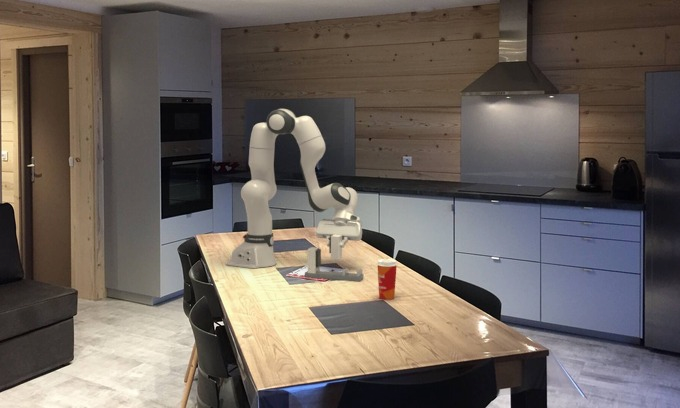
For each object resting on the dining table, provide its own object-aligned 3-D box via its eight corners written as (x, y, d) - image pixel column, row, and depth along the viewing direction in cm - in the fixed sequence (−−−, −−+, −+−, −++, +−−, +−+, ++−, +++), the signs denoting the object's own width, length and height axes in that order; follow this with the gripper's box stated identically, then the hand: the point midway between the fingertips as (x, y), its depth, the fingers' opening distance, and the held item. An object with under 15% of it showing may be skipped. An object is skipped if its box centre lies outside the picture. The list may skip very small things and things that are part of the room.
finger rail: (304, 277, 280) (304, 249, 278) (308, 274, 284) (308, 246, 283) (360, 281, 273) (360, 252, 271) (363, 278, 277) (363, 250, 276)
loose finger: (328, 259, 287) (329, 236, 286) (332, 256, 292) (332, 234, 291) (338, 259, 286) (338, 236, 285) (341, 257, 291) (342, 234, 289)
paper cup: (375, 295, 252) (375, 258, 250) (395, 294, 253) (395, 258, 251) (377, 300, 244) (378, 263, 242) (398, 300, 245) (399, 262, 243)
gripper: (318, 214, 296) (310, 240, 288) (363, 217, 290) (356, 243, 282) (321, 223, 301) (314, 248, 293) (365, 226, 295) (359, 252, 287)
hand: (335, 246), depth 288 cm, fingers closed on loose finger, 4 cm apart
